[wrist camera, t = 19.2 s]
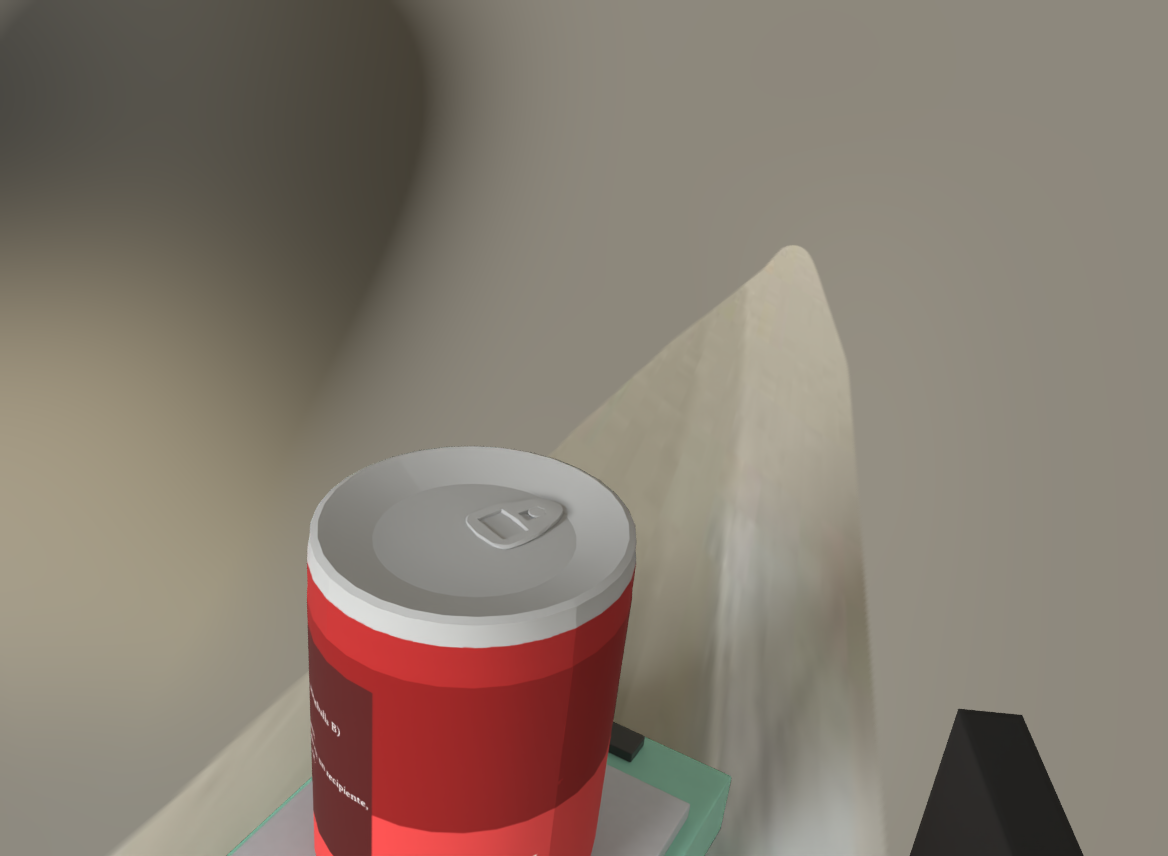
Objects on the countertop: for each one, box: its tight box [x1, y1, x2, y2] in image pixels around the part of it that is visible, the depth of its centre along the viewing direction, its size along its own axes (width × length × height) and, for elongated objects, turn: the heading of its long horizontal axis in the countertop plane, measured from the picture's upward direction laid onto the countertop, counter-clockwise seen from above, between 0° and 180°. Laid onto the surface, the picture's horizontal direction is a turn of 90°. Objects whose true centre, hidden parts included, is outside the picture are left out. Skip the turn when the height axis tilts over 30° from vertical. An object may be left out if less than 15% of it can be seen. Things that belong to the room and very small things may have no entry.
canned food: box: [307, 446, 636, 856], centre depth 29 cm, size 8×8×11 cm
